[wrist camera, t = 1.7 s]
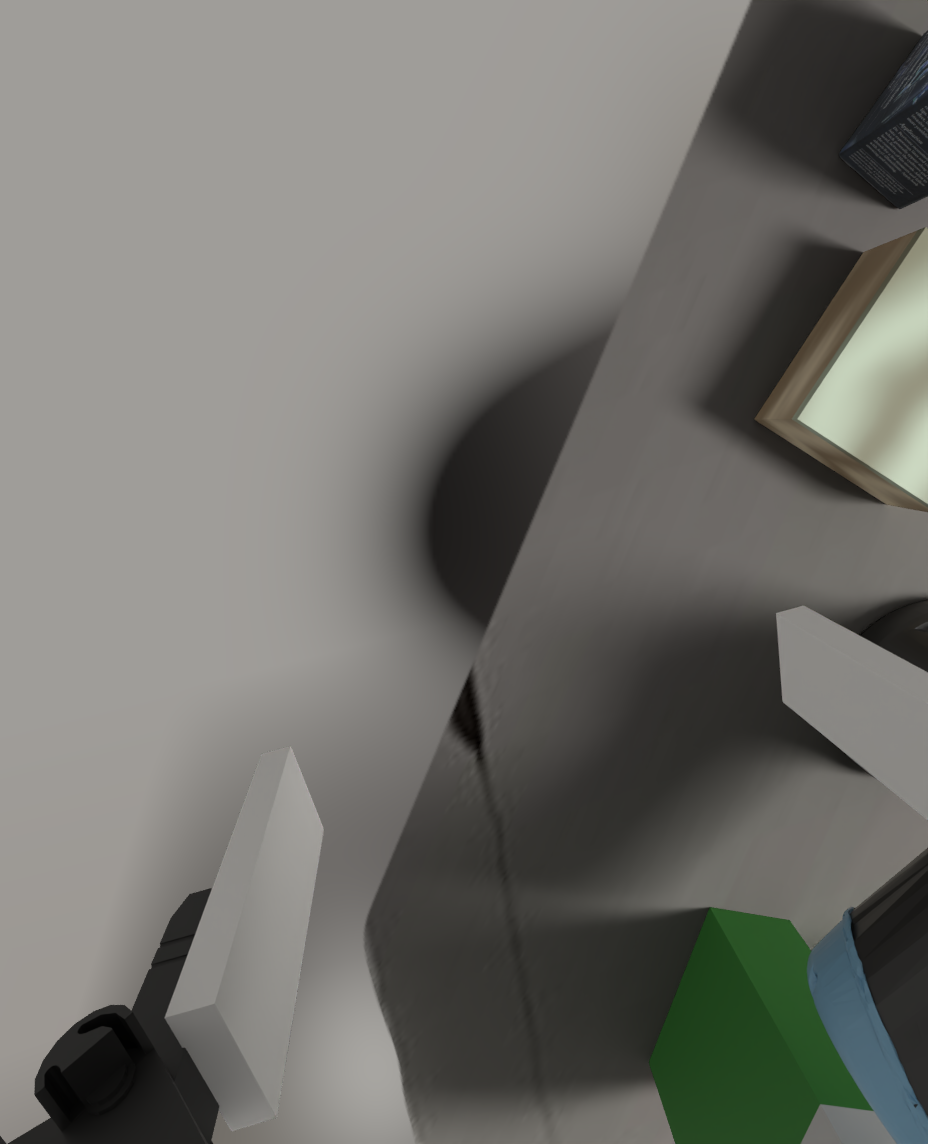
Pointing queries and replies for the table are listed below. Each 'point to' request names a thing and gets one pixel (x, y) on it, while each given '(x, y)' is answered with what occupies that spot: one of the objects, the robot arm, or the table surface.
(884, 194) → the box
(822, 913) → the table surface
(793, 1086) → the hardback book
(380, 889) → the table surface
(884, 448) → the stand
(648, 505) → the table surface
